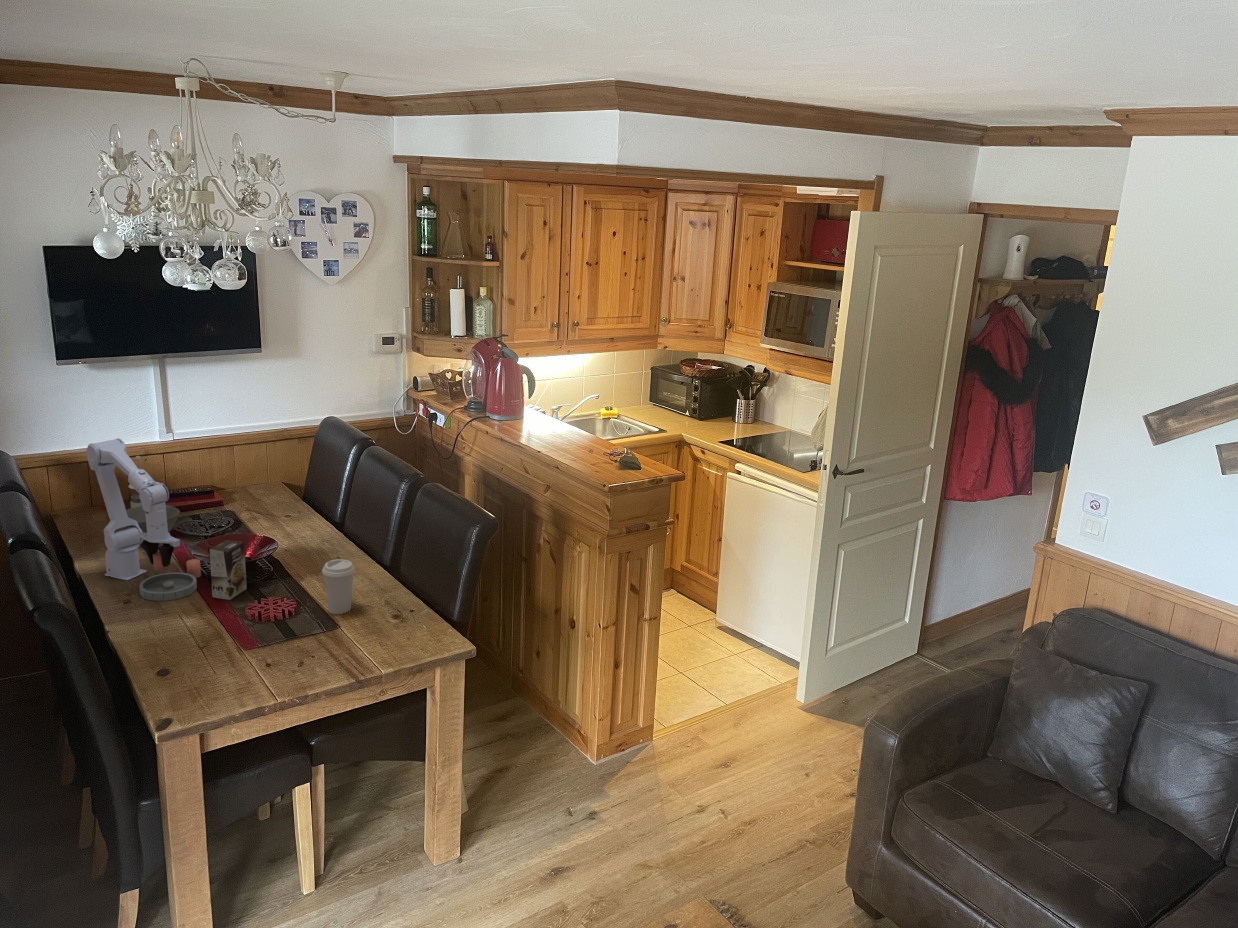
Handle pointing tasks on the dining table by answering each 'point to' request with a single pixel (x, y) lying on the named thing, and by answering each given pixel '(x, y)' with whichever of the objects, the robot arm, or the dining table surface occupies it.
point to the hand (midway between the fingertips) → (160, 564)
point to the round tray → (168, 594)
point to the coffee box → (228, 569)
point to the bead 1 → (158, 562)
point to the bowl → (140, 516)
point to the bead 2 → (194, 567)
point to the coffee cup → (338, 585)
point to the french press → (136, 496)
